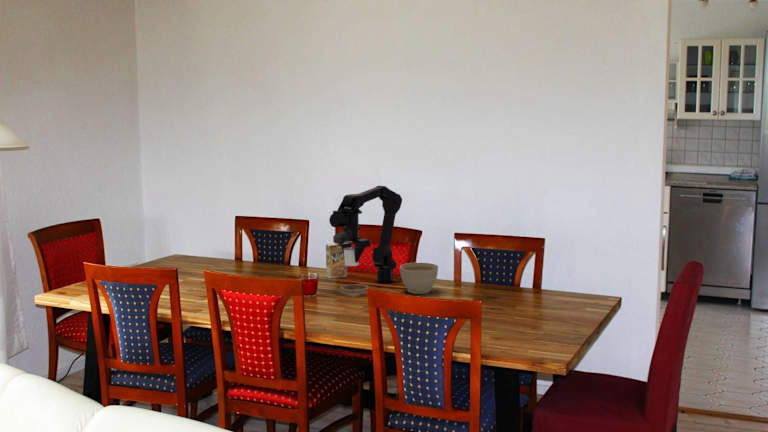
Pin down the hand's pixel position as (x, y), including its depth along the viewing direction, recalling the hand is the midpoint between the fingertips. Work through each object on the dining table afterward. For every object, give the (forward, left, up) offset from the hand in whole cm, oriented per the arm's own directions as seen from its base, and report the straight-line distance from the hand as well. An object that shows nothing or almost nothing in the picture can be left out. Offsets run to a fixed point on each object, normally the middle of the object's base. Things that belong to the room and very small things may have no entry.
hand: (351, 261), depth 347 cm
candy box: (-11, -24, -13) cm, 29 cm away
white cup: (0, 0, -2) cm, 2 cm away
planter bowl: (-18, +22, -13) cm, 31 cm away
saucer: (+3, +5, -12) cm, 14 cm away
